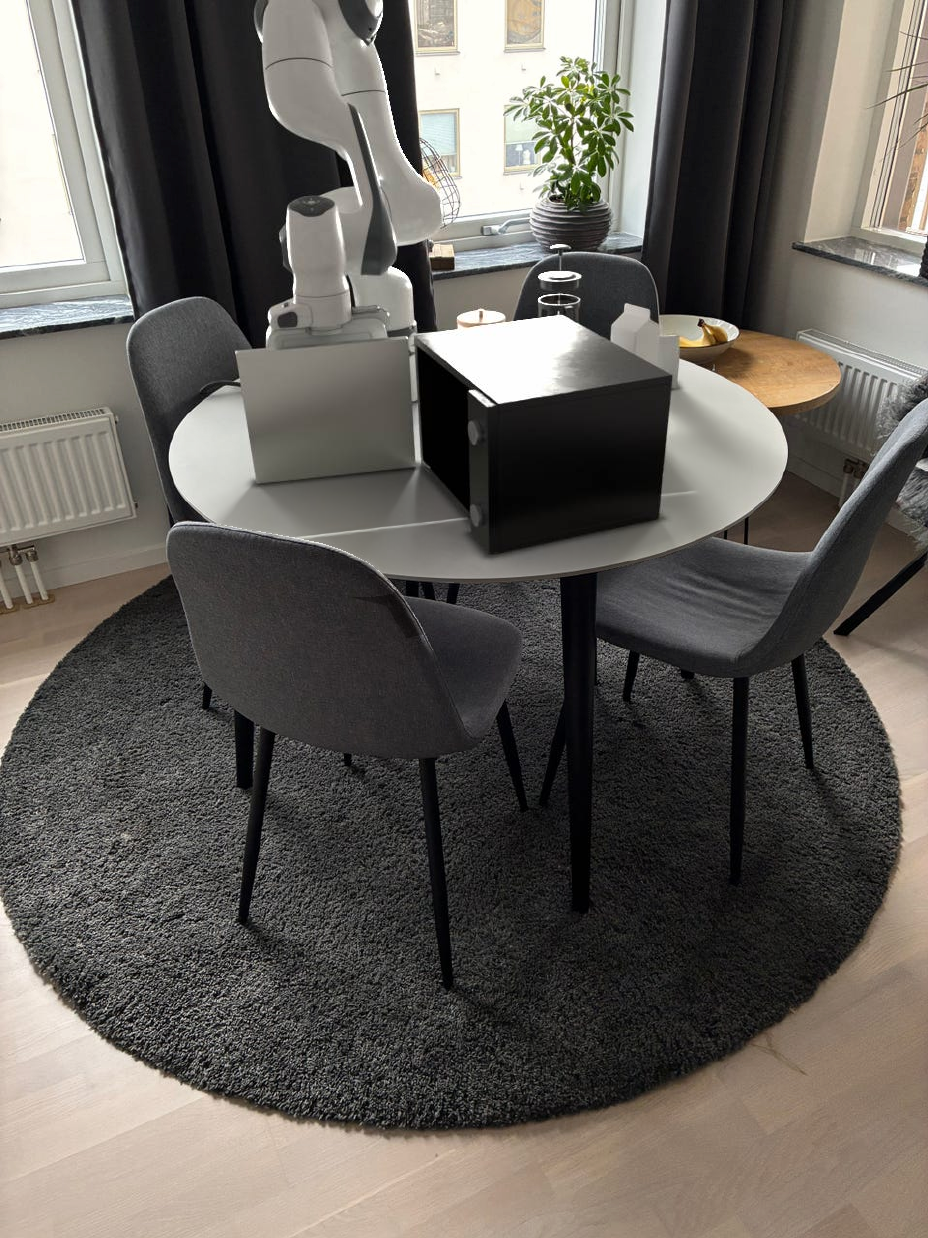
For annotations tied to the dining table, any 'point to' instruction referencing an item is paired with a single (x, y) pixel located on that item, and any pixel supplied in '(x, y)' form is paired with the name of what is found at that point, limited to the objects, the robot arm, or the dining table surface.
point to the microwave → (541, 429)
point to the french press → (559, 283)
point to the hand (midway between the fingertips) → (332, 393)
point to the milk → (637, 333)
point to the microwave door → (328, 408)
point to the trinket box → (479, 319)
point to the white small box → (669, 356)
